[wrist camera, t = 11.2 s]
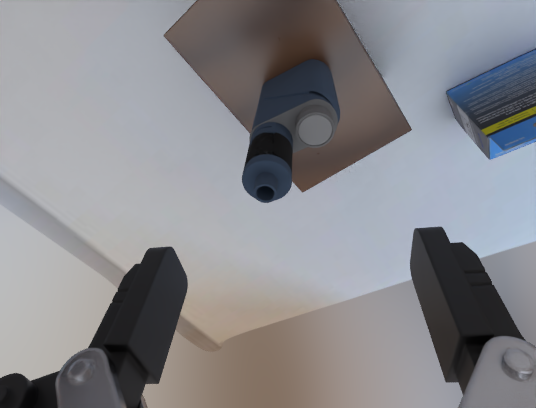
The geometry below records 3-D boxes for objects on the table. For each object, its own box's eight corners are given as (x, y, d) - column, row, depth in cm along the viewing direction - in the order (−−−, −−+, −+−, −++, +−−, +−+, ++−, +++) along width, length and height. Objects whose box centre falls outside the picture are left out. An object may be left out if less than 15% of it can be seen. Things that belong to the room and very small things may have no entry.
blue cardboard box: (454, 121, 37) (509, 189, 27) (444, 90, 35) (500, 151, 25) (550, 78, 33) (653, 139, 24) (545, 41, 31) (655, 90, 22)
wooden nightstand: (200, 6, 32) (162, 35, 23) (288, -83, 27) (282, -89, 19) (301, 133, 39) (302, 192, 30) (383, 79, 34) (412, 130, 26)
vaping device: (253, 85, 24) (226, 181, 15) (322, 49, 23) (339, 133, 13) (270, 116, 26) (255, 221, 16) (337, 84, 24) (361, 183, 15)
